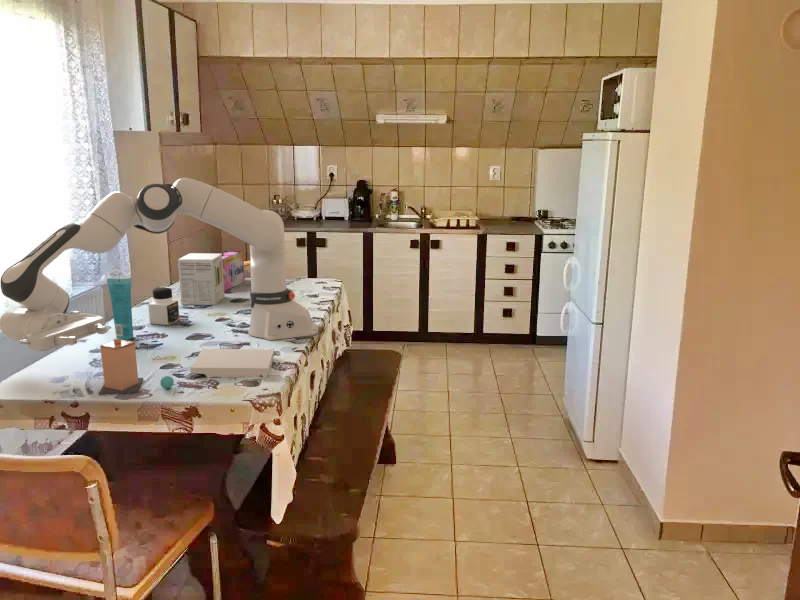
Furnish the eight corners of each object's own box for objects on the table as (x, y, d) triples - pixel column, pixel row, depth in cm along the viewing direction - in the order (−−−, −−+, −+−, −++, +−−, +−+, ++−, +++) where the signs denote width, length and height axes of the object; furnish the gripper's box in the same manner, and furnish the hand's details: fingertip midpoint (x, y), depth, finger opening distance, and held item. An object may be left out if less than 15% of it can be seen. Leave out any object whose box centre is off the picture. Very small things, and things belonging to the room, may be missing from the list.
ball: (174, 385, 169) (173, 373, 168) (173, 390, 166) (172, 378, 165) (161, 386, 168) (160, 374, 168) (160, 390, 165) (159, 378, 165)
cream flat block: (274, 360, 191) (203, 359, 189) (273, 349, 190) (202, 348, 188) (268, 380, 176) (191, 379, 174) (268, 368, 175) (190, 367, 173)
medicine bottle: (168, 325, 221) (165, 290, 219) (149, 324, 223) (146, 289, 220) (179, 319, 228) (177, 286, 225) (161, 318, 230) (158, 284, 227)
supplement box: (215, 305, 248) (212, 259, 244) (180, 304, 248) (177, 259, 244) (225, 296, 261) (222, 253, 256) (192, 296, 261) (189, 252, 257)
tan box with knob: (122, 379, 171) (117, 334, 168) (138, 382, 169) (134, 337, 166) (104, 386, 166) (99, 340, 163) (121, 390, 164) (116, 343, 161)
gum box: (219, 293, 266) (217, 260, 262) (201, 292, 267) (199, 259, 264) (245, 281, 288) (243, 250, 285) (228, 280, 290) (226, 249, 287)
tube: (139, 335, 210) (133, 276, 205) (134, 340, 205) (129, 280, 201) (114, 336, 209) (108, 277, 204) (109, 341, 204) (103, 280, 200)
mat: (143, 379, 173) (143, 377, 173) (137, 392, 164) (137, 390, 164) (106, 382, 171) (106, 380, 171) (98, 395, 162) (98, 393, 162)
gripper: (13, 329, 164) (53, 335, 158) (80, 309, 182) (118, 313, 177) (17, 353, 165) (57, 360, 160) (84, 330, 183) (121, 336, 178)
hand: (90, 335), depth 168 cm, fingers open, 8 cm apart
